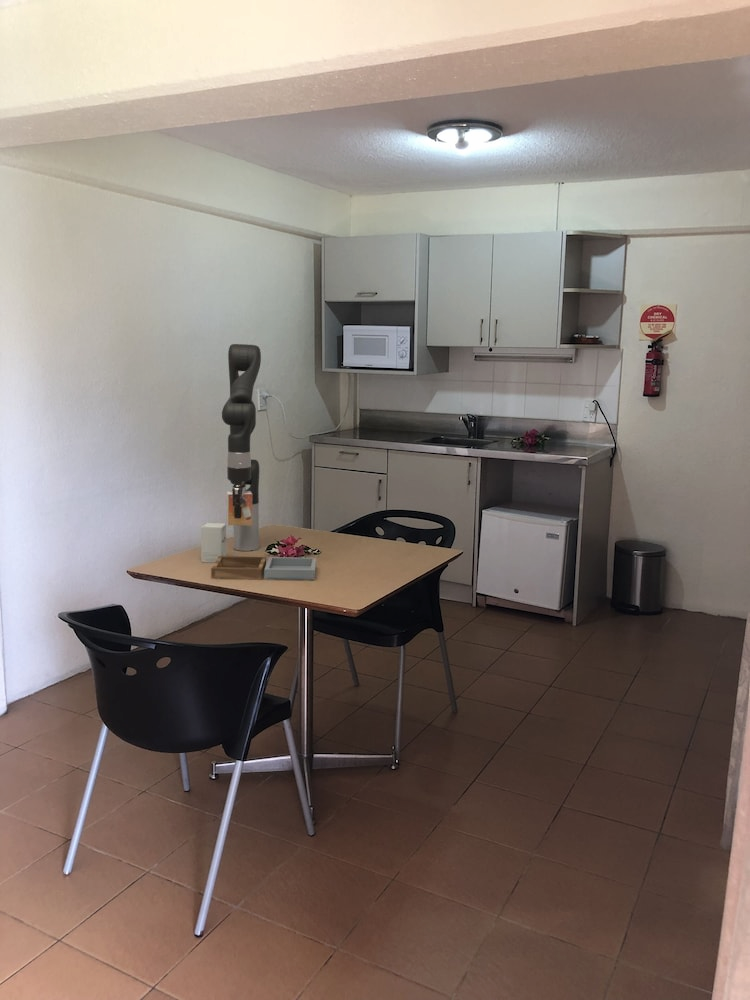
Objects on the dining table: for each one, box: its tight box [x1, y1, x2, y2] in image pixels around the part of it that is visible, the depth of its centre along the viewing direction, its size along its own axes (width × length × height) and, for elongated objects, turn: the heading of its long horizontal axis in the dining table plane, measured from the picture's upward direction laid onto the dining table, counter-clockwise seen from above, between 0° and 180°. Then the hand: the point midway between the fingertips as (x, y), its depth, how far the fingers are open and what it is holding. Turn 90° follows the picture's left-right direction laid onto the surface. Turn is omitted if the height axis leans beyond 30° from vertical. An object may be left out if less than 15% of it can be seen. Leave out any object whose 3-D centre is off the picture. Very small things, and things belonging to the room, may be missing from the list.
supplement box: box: [200, 522, 227, 564], centre depth 288 cm, size 7×7×13 cm
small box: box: [225, 490, 252, 527], centre depth 270 cm, size 8×6×10 cm
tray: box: [263, 556, 317, 581], centre depth 274 cm, size 16×16×4 cm
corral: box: [210, 555, 267, 581], centre depth 274 cm, size 16×16×4 cm
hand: (239, 515), depth 271 cm, fingers closed on small box, 6 cm apart
